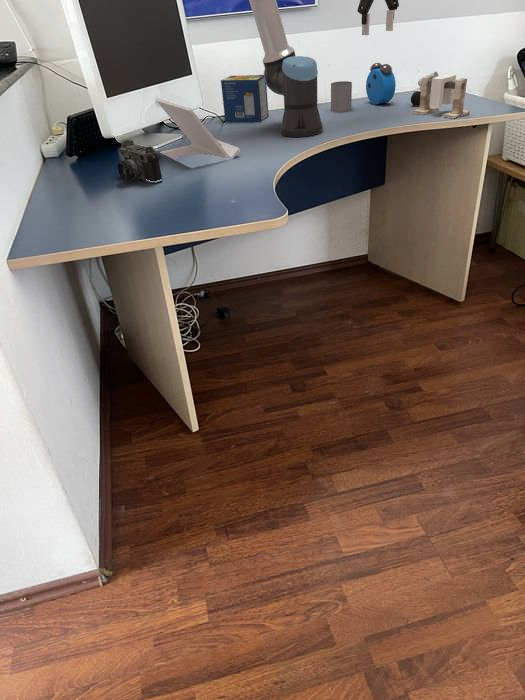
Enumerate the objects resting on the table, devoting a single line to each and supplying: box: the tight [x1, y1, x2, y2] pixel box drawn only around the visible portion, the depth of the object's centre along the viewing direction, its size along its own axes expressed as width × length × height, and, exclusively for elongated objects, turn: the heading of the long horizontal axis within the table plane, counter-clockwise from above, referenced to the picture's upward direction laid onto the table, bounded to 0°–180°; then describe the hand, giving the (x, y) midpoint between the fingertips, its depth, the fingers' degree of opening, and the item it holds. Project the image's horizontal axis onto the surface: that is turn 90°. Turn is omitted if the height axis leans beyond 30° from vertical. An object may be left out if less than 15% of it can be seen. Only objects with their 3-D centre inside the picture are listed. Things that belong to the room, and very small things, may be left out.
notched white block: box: [429, 74, 457, 109], centre depth 192 cm, size 9×4×10 cm, turn 131°
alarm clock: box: [365, 62, 397, 105], centre depth 215 cm, size 13×6×15 cm, turn 24°
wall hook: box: [413, 71, 440, 93], centre depth 223 cm, size 9×10×10 cm
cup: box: [330, 80, 353, 113], centre depth 212 cm, size 8×8×10 cm
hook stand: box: [411, 75, 471, 119], centre depth 193 cm, size 10×18×12 cm, turn 41°
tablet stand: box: [156, 98, 241, 160], centre depth 169 cm, size 18×25×17 cm
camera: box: [117, 139, 163, 182], centre depth 152 cm, size 18×9×10 cm, turn 43°
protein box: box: [220, 74, 269, 123], centre depth 209 cm, size 10×15×16 cm
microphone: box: [410, 91, 421, 107], centre depth 215 cm, size 6×6×20 cm
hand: (377, 33), depth 194 cm, fingers open, 13 cm apart
